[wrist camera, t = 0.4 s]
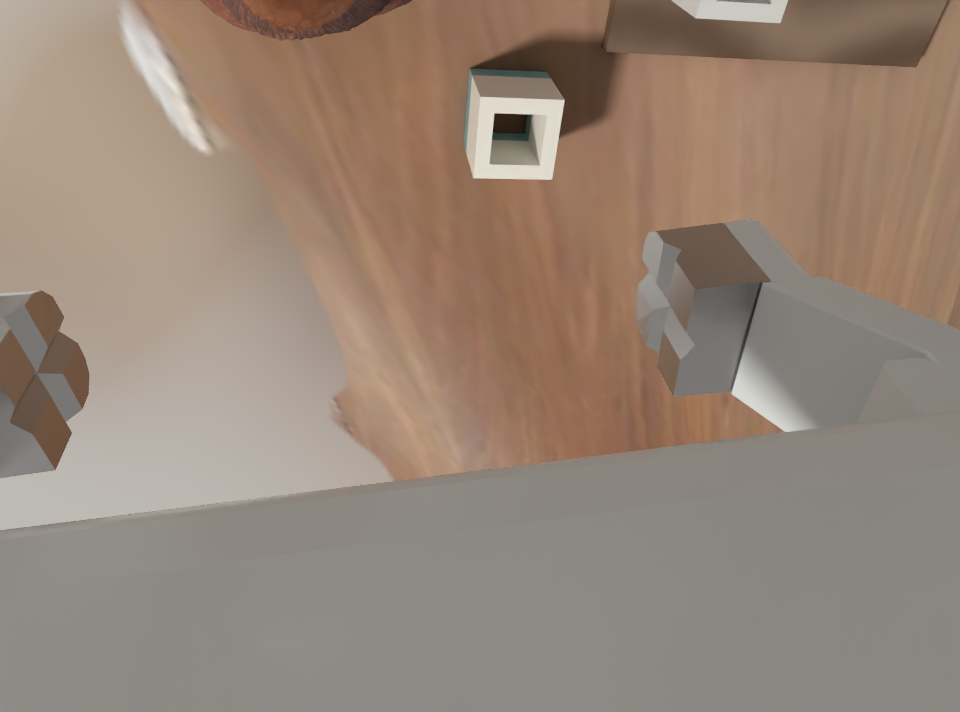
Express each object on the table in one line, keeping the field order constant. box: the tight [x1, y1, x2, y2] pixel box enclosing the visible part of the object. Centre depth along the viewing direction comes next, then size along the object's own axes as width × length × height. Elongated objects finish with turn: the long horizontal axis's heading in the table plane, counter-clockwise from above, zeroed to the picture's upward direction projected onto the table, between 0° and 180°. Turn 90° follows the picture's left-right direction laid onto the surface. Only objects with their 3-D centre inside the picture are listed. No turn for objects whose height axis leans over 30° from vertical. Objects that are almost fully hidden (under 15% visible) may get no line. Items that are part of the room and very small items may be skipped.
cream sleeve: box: [464, 68, 565, 180], centre depth 52 cm, size 6×6×6 cm
